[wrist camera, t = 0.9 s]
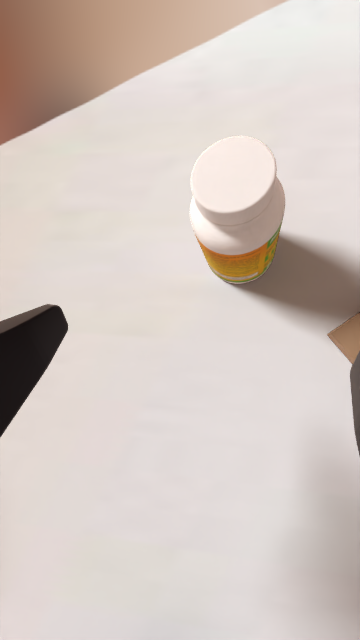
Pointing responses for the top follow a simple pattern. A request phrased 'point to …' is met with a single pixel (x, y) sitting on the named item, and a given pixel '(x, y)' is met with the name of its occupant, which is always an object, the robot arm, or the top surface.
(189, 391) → the top surface
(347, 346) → the bottle holder
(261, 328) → the top surface
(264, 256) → the supplement bottle
